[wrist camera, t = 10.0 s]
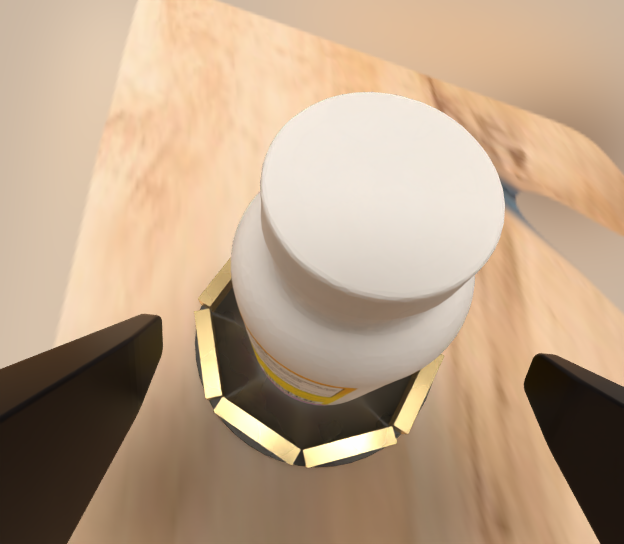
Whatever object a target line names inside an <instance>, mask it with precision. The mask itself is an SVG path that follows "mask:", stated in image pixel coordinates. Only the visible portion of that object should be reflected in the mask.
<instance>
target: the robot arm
mask: <svg viewBox="0 0 624 544" xmlns="http://www.w3.org/2000/svg"><path fill="white" fill-rule="evenodd" d="M162 350H163V336H162V320H161V317H160V316H158V315H150V314H141V315H138V316H135V317H133V318H130V319H128V320H125V321H123V322H120V323H117V324H115V325H112V326H110V327H107V328H105V329H102V330H100V331H97V332H94V333H92V334H89V335H87V336H84V337H82V338H79V339H76V340H74V341H71V342H69V343H66V344H64V345H61V346H58V347H56V348H53V349H51V350H48V351H46V352H43V353H41V354H38V355H36V356H33V357H30V358H28V359H25V360H23V361H20V362H18V363H15V364H12V365H10V366H7V367H5V368H2V369H0V544H67V543H68V541H69V539H70V537H71V536H72V534H73V532H74V530H75V528H76V526H77V525H78V523H79V521H80V519H81V517H82V515H83V514H84V512H85V510H86V508H87V506H88V504H89V502H90V501H91V499H92V497H93V495H94V493H95V491H96V490H97V488H98V486H99V484H100V482H101V480H102V479H103V477H104V475H105V473H106V471H107V469H108V468H109V466H110V464H111V462H112V460H113V458H114V457H115V455H116V453H117V451H118V449H119V447H120V446H121V444H122V442H123V440H124V438H125V436H126V435H127V433H128V431H129V429H130V427H131V425H132V424H133V422H134V420H135V418H136V416H137V414H138V412H139V410H140V407H141V405H142V403H143V400H144V398H145V395H146V393H147V390H148V388H149V385H150V383H151V380H152V378H153V375H154V373H155V370H156V368H157V365H158V363H159V360H160V358H161V355H162ZM524 390H525V393H526V395H527V398H528V400H529V402H530V405H531V407H532V409H533V412H534V414H535V417H536V419H537V421H538V424H539V426H540V428H541V431H542V433H543V436H544V438H545V440H546V442H547V445H548V447H549V449H550V451H551V453H552V455H553V457H554V459H555V461H556V463H557V464H558V466H559V468H560V470H561V472H562V474H563V476H564V477H565V479H566V481H567V483H568V485H569V487H570V488H571V490H572V492H573V494H574V496H575V498H576V500H577V501H578V503H579V505H580V507H581V509H582V511H583V513H584V514H585V516H586V518H587V520H588V522H589V524H590V526H591V527H592V529H593V531H594V533H595V535H596V537H597V539H598V540H599V542H600V544H624V387H623V386H620V385H618V384H616V383H614V382H612V381H610V380H608V379H606V378H604V377H601V376H599V375H597V374H595V373H593V372H591V371H589V370H587V369H584V368H582V367H580V366H578V365H576V364H574V363H572V362H570V361H568V360H565V359H563V358H561V357H559V356H557V355H553V354H543V353H539V354H537V355H535V356H534V358H533V360H532V362H531V365H530V368H529V370H528V373H527V375H526V378H525V381H524Z"/></svg>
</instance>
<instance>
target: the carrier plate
mask: <svg viewBox="0 0 624 544" xmlns="http://www.w3.org/2000/svg"><path fill="white" fill-rule="evenodd" d="M198 300H199V302H200V303H201V305H202V306H201V309H200V310H199V311H194V314H195V322H196V337H195V350H196V361H197V366H198V371H199V376H200V379H201V382H202V385H203V388H204V391H205V399H207V400H209V401H210V403H211V405H212V406H213V408H214V411H213V412H214V413H216V414H217V415H219V417H220V418H221V419H222V421H223V422H224V423H225V424H226V425H227V426H228V427H229V428H230V429H231V430H232V432H233V433H234V434H235V435H237V436H238V437H239V438H240V439H242V440H243V441H244V442H245V443H247V444H248V445H249V446H251V447H253V448H254V449H256V450H258V451H260V452H261V453H263V454H265V455H267V456H270V457H272V458H275V459H277V460H279V461H283V462H287V463H289V464H290V465H291V466H292V464H295V465H300V466H305V467H306V468H309V467H327V466H337V465H342V464H347V463H352V462H354V461H357V460H360V459H363V458H366V457H368V456H370V455H372V454H374V453H376V452H377V451H379V450H381V449H383V448H384V447H386V446H390V445H393V444H397V441H396V438H397V437H398V436H399V435H400V434H408V433H409V431H410V429H411V427H412V425H413V422H414V420H415V418H416V416H417V414H418V413H419V411H420V409H421V407H422V406H423V404H424V402H425V400H426V398H427V395H428V393H429V390H430V387H431V385H432V382H433V379H434V377H435V375H436V373H437V371H438V369H439V366H440V364H441V362H442V360H443V358H444V355H442V354H440V355H439V356H438V357H437V358H436V359H435V360H433V361H432V362H431V363H429V364H428V365H427V366H425V367H424V368H422V369H420V370H419V371H417V372H415V373H413V374H411V375H409V376H407V377H404V378H402V379H399V380H397V381H394V382H392V383H389V384H387V385H384V386H382V387H380V388H378V389H375V390H373V391H371V392H369V393H367V394H364V395H362V396H360V397H358V398H355V399H353V400H350V401H348V402H344V403H341V404H336V405H325V406H323V405H313V404H308V403H305V402H301V401H299V400H296V399H294V398H292V397H290V396H288V395H287V394H285V393H284V392H282V391H281V390H280V389H279V388H277V387H276V386H275V385H274V384H273V383H272V382H271V380H270V379H269V378H268V377H267V376H266V374H265V373H264V371H263V370H262V368H261V366H260V364H259V362H258V360H257V358H256V355H255V352H254V350H253V347H252V344H251V341H250V339H249V335H248V333H247V330H246V327H245V324H244V322H243V319H242V316H241V314H240V311H239V308H238V304H237V301H236V298H235V294H234V289H233V284H232V278H231V258H230V259H229V260H228V261H227V263H226V264H225V265H224V266H223V268H222V269H221V270H220V271H219V273H218V274H217V275H216V276H215V278H214V279H213V280H212V282H211V283H210V284H209V285H208V287H207V288H206V289H205V290H204V292H203V293H202V294H201V295H200V297H199V298H198Z"/></svg>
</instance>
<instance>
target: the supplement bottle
mask: <svg viewBox="0 0 624 544" xmlns="http://www.w3.org/2000/svg"><path fill="white" fill-rule="evenodd" d="M504 210H505V203H504V195H503V189H502V186H501V183H500V179H499V176H498V173H497V171H496V169H495V167H494V165H493V163H492V162H491V160H490V158H489V156H488V155H487V153H486V152H485V150H484V149H483V148H482V147H481V145H480V144H479V143H478V142H477V141H476V140H475V138H474V137H473V136H472V135H471V134H470V133H469V132H468V131H467V130H466V129H465V128H464V127H463V126H461V125H460V124H459V123H457V122H456V121H455V120H453V119H452V118H450V117H449V116H447V115H446V114H444V113H443V112H441V111H439V110H437V109H435V108H433V107H431V106H429V105H427V104H424V103H422V102H419V101H416V100H413V99H409V98H406V97H403V96H398V95H393V94H386V93H376V92H359V93H349V94H342V95H338V96H334V97H331V98H327V99H325V100H322V101H320V102H318V103H316V104H313V105H311V106H310V107H308V108H306V109H304V110H303V111H301V112H300V113H298V114H297V115H296V116H294V117H293V118H292V119H291V120H289V121H288V123H287V124H286V125H284V126H283V127H282V129H281V130H280V131H279V133H278V134H277V135H276V137H275V138H274V140H273V141H272V143H271V145H270V147H269V150H268V152H267V154H266V157H265V160H264V163H263V166H262V173H261V181H260V192H259V193H258V194H257V195H256V196H255V197H254V199H253V200H252V201H251V202H250V204H249V206H248V207H247V209H246V210H245V212H244V214H243V216H242V218H241V220H240V222H239V224H238V227H237V230H236V233H235V236H234V240H233V245H232V253H231V278H232V284H233V289H234V294H235V298H236V301H237V304H238V308H239V311H240V314H241V316H242V319H243V322H244V324H245V327H246V330H247V333H248V335H249V339H250V341H251V344H252V347H253V350H254V352H255V355H256V358H257V360H258V362H259V364H260V366H261V368H262V370H263V371H264V373H265V374H266V376H267V377H268V378H269V379H270V380H271V382H272V383H273V384H274V385H275V386H276V387H277V388H279V389H280V390H281V391H282V392H284V393H285V394H287V395H288V396H290V397H292V398H294V399H296V400H299V401H301V402H305V403H308V404H313V405H323V406H325V405H336V404H341V403H344V402H348V401H350V400H353V399H355V398H358V397H360V396H362V395H364V394H367V393H369V392H371V391H373V390H375V389H378V388H380V387H382V386H384V385H387V384H389V383H392V382H394V381H397V380H399V379H402V378H404V377H407V376H409V375H411V374H413V373H415V372H417V371H419V370H420V369H422V368H424V367H425V366H427V365H428V364H429V363H431V362H432V361H433V360H435V359H436V358H437V357H438V356H439V355H440V354H441V353H442V352H443V351H444V350H445V349H446V348H447V347H448V346H449V345H450V343H451V342H452V341H453V340H454V338H455V337H456V336H457V334H458V332H459V330H460V329H461V327H462V325H463V323H464V321H465V319H466V316H467V314H468V312H469V309H470V305H471V302H472V297H473V292H474V284H475V274H476V273H477V272H478V271H479V270H480V269H481V268H482V267H483V266H484V265H485V263H486V262H487V261H488V259H489V258H490V256H491V255H492V253H493V252H494V250H495V248H496V246H497V243H498V241H499V239H500V235H501V232H502V228H503V224H504Z"/></svg>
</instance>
